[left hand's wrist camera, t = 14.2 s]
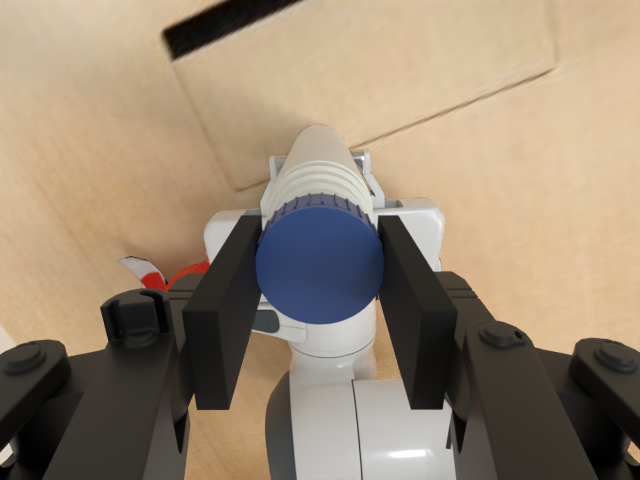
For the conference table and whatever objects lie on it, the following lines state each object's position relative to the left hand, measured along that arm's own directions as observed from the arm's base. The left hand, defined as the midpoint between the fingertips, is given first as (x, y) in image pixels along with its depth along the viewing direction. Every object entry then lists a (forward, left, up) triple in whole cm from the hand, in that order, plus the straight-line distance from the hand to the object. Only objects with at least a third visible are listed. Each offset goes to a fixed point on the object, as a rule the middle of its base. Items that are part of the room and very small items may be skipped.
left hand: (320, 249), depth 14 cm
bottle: (0, 0, -24) cm, 24 cm away
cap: (0, 0, +1) cm, 1 cm away
